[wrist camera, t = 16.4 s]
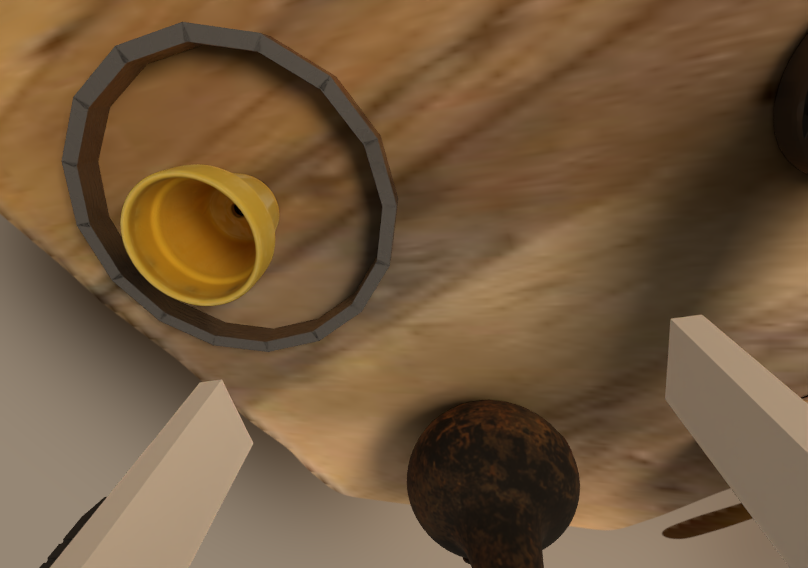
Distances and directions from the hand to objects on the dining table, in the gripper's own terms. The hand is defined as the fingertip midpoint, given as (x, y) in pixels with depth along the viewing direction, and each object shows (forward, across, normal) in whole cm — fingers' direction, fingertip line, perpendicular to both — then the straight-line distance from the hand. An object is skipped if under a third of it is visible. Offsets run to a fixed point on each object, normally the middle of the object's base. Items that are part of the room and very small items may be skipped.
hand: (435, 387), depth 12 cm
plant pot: (+27, -18, +2) cm, 32 cm away
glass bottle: (+28, 0, -30) cm, 41 cm away
